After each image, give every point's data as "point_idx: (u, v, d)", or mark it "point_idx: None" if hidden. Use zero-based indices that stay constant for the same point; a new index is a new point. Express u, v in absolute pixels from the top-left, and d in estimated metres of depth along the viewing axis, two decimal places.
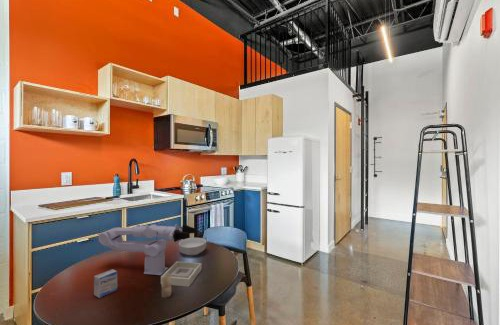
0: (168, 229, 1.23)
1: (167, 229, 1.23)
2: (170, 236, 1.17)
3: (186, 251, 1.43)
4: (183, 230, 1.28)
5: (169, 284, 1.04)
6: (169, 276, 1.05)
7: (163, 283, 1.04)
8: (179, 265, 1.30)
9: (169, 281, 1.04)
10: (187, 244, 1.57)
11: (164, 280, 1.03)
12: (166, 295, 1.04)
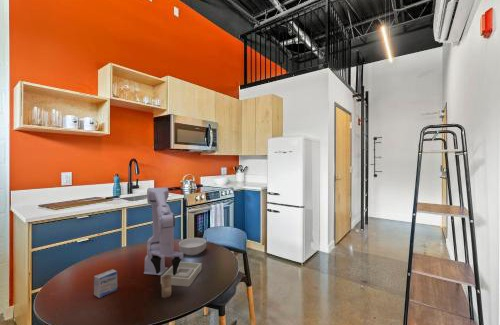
0: (160, 247, 1.03)
1: (159, 245, 1.03)
2: None
3: (186, 251, 1.43)
4: None
5: (169, 284, 1.04)
6: (169, 276, 1.05)
7: (163, 283, 1.04)
8: (179, 265, 1.30)
9: (169, 281, 1.04)
10: (187, 244, 1.57)
11: (164, 280, 1.03)
12: (166, 295, 1.04)
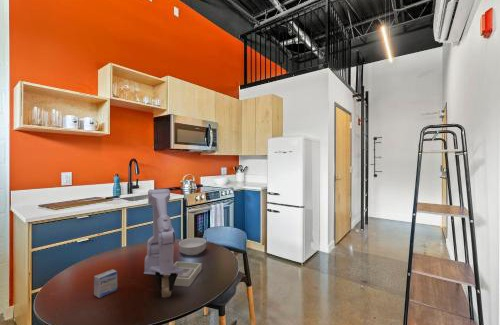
0: (160, 263, 1.03)
1: (159, 262, 1.03)
2: None
3: (186, 251, 1.43)
4: None
5: None
6: None
7: (163, 283, 1.04)
8: (179, 265, 1.30)
9: None
10: (187, 244, 1.57)
11: (164, 280, 1.03)
12: (166, 295, 1.04)
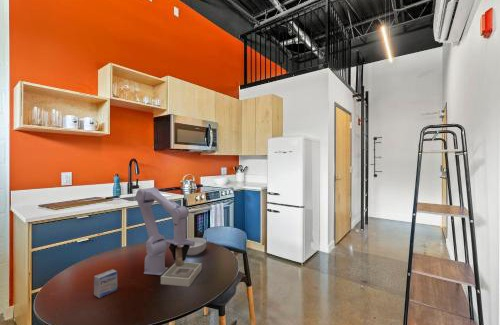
0: (174, 236, 1.16)
1: (174, 235, 1.17)
2: None
3: None
4: None
5: (182, 254, 1.17)
6: None
7: (177, 253, 1.17)
8: None
9: None
10: None
11: (177, 251, 1.16)
12: (179, 264, 1.17)
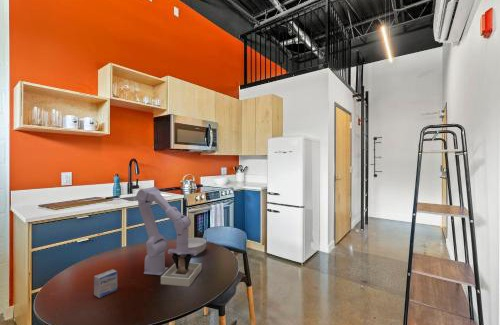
0: (177, 245, 1.20)
1: None
2: None
3: None
4: None
5: None
6: None
7: (180, 262, 1.20)
8: None
9: None
10: None
11: (180, 260, 1.20)
12: (182, 273, 1.20)
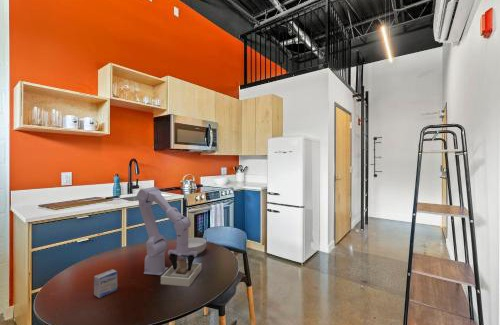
0: (177, 246, 1.20)
1: None
2: None
3: None
4: None
5: (185, 265, 1.21)
6: (184, 259, 1.22)
7: (180, 264, 1.20)
8: None
9: (185, 263, 1.21)
10: None
11: (180, 262, 1.20)
12: None
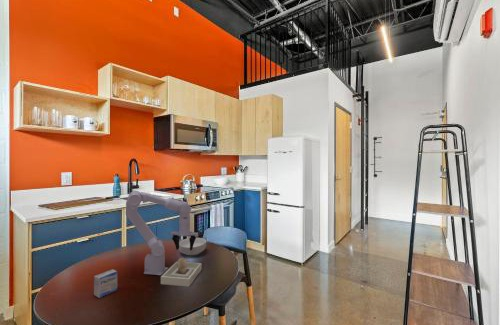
0: (179, 228, 1.30)
1: (179, 227, 1.30)
2: None
3: (186, 251, 1.43)
4: None
5: (185, 265, 1.21)
6: (184, 259, 1.22)
7: (180, 264, 1.20)
8: None
9: (185, 263, 1.21)
10: (187, 244, 1.57)
11: (180, 262, 1.20)
12: None
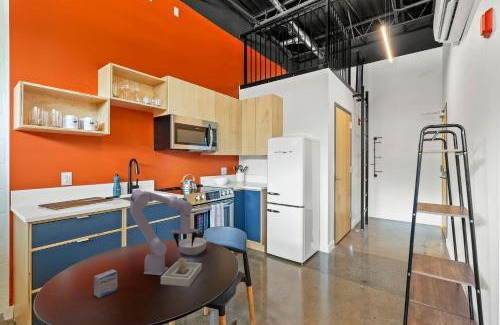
0: (181, 226, 1.34)
1: (181, 225, 1.34)
2: None
3: (186, 251, 1.43)
4: None
5: (185, 265, 1.21)
6: (184, 259, 1.22)
7: (180, 264, 1.20)
8: None
9: (185, 263, 1.21)
10: (187, 244, 1.57)
11: (180, 262, 1.20)
12: None
